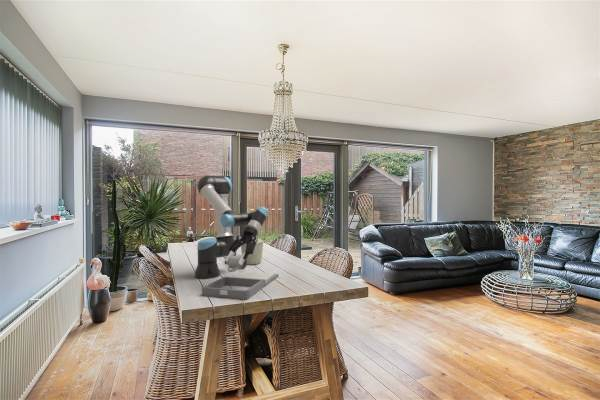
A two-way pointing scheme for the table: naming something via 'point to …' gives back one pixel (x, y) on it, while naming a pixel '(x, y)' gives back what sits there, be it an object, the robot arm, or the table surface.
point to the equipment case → (243, 279)
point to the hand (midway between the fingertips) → (233, 263)
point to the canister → (254, 253)
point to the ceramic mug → (236, 263)
